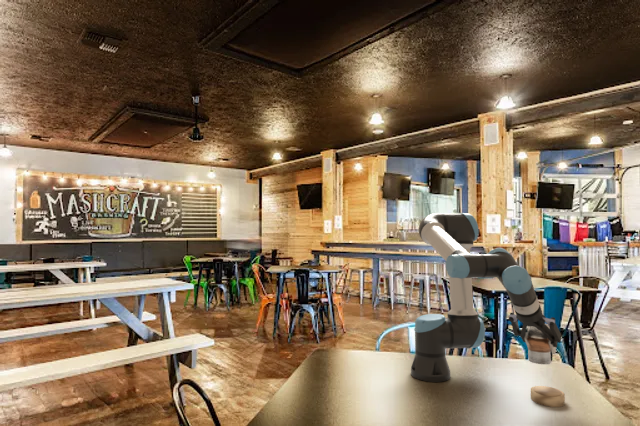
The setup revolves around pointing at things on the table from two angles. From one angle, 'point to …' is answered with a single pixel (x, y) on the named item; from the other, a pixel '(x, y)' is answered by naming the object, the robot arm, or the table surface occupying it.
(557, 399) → the stand
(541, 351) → the can
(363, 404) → the table surface
